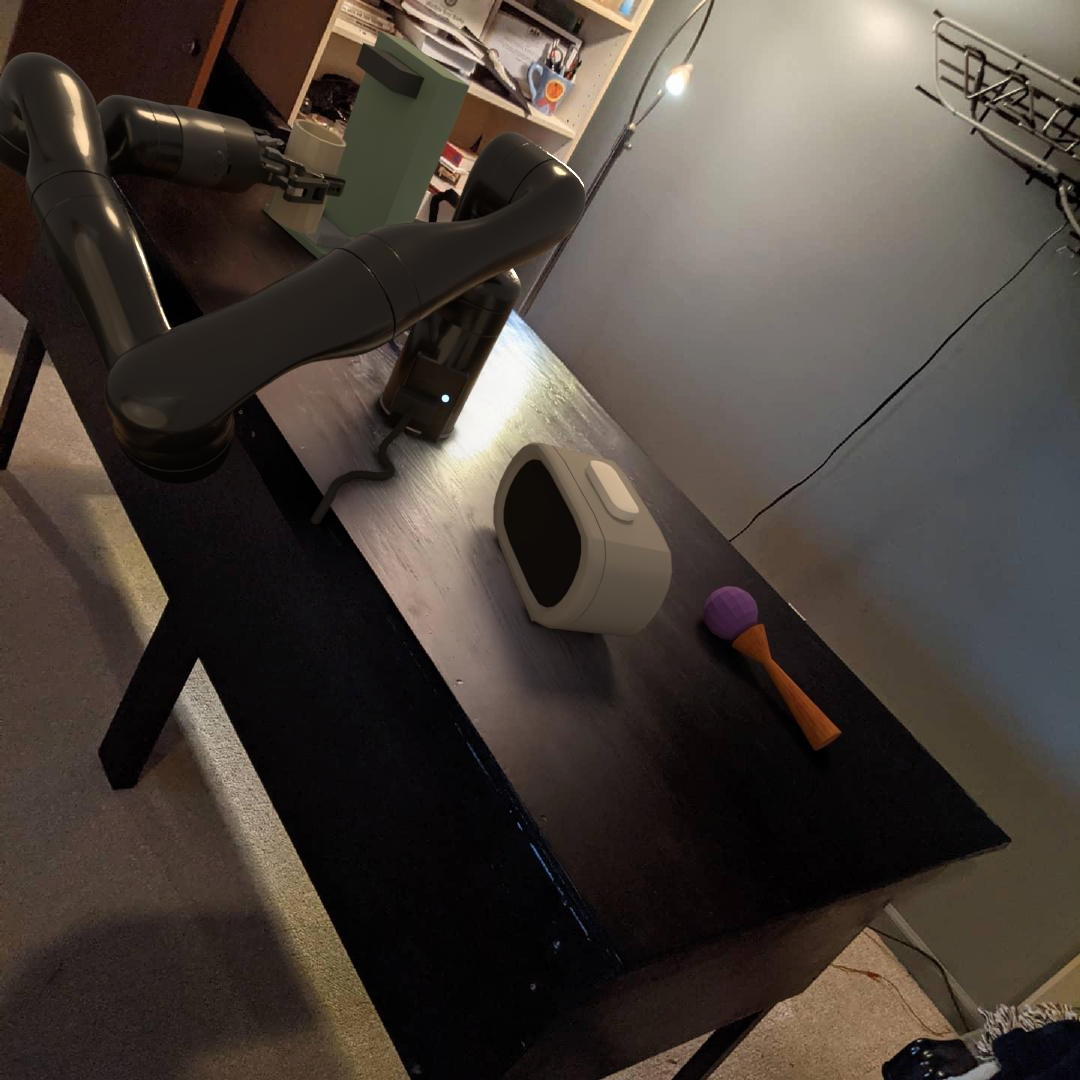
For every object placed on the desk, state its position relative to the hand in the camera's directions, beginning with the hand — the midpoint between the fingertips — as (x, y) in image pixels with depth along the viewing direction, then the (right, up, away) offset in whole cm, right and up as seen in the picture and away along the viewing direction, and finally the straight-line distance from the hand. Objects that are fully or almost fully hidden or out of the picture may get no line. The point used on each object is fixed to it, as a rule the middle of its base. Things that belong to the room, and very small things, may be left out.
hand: (324, 172), depth 101 cm
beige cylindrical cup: (-4, -5, +1) cm, 7 cm away
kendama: (+50, -59, -9) cm, 78 cm away
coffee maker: (-7, +3, +31) cm, 32 cm away
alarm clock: (+26, -49, -14) cm, 57 cm away
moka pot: (+10, -11, +26) cm, 30 cm away
